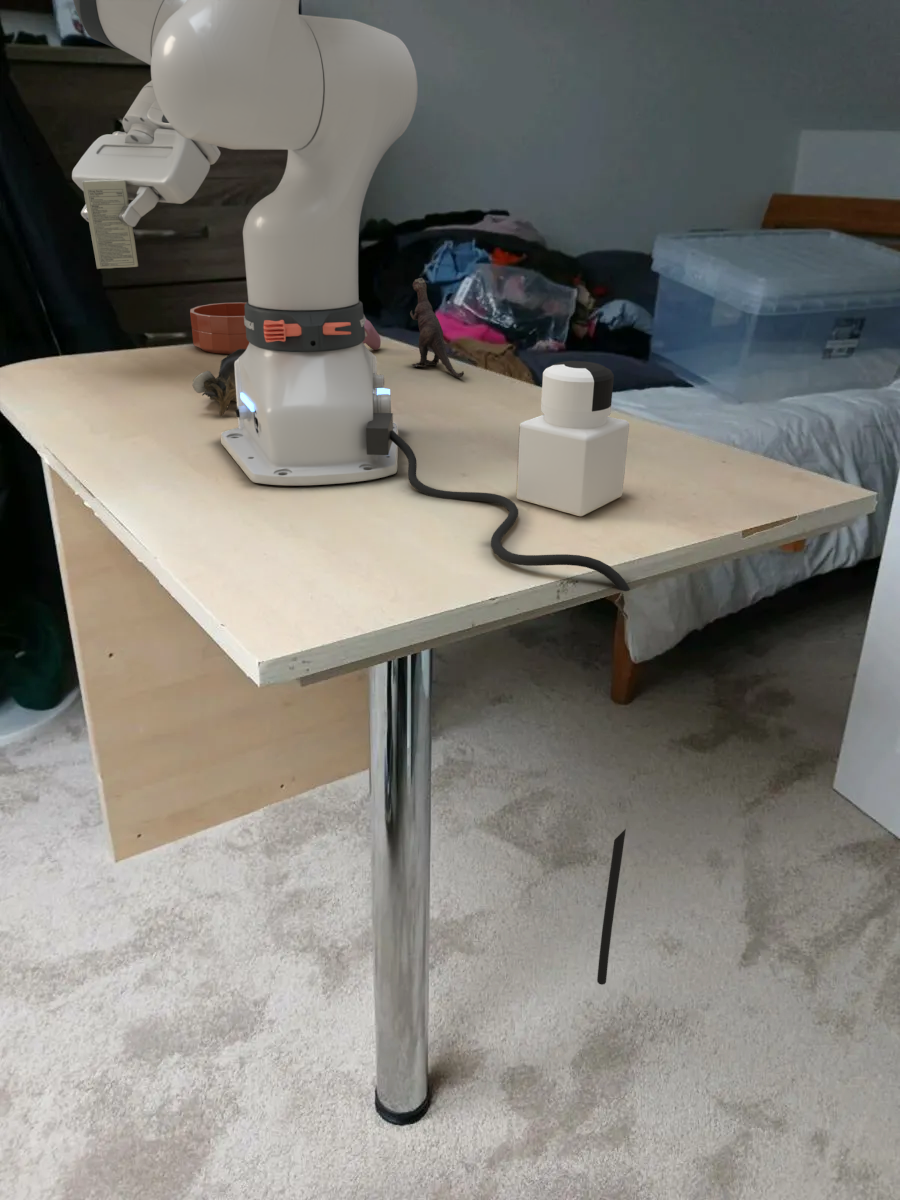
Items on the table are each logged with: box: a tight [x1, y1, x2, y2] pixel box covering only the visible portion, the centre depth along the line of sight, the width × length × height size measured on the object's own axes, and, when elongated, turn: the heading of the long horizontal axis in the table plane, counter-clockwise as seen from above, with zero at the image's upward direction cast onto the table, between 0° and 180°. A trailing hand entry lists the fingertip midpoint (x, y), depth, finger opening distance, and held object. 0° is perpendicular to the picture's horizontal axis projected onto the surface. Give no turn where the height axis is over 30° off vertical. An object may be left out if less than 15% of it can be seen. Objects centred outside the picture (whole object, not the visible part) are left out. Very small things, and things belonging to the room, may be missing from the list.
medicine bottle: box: [515, 360, 630, 517], centre depth 83 cm, size 7×7×12 cm
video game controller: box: [363, 317, 382, 351], centre depth 142 cm, size 10×5×7 cm, turn 73°
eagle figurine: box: [192, 349, 246, 417], centre depth 111 cm, size 8×7×9 cm
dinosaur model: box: [409, 277, 465, 378], centre depth 129 cm, size 4×12×15 cm
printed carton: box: [82, 180, 139, 270], centre depth 117 cm, size 5×4×10 cm
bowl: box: [189, 302, 249, 355], centre depth 144 cm, size 13×13×6 cm
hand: (106, 221), depth 116 cm, fingers closed on printed carton, 6 cm apart
